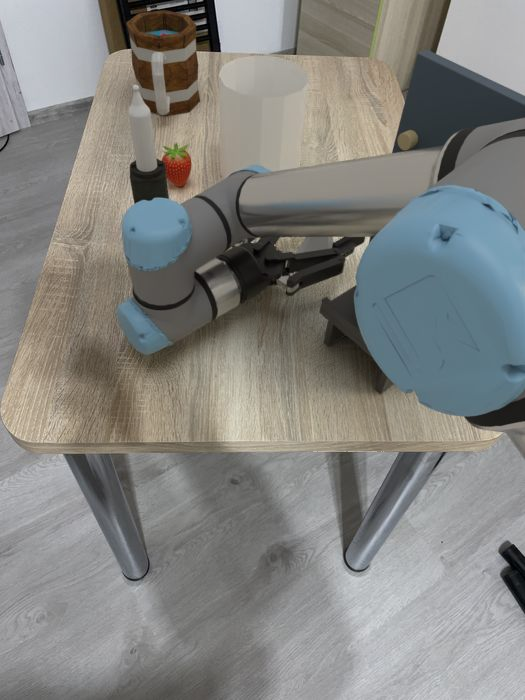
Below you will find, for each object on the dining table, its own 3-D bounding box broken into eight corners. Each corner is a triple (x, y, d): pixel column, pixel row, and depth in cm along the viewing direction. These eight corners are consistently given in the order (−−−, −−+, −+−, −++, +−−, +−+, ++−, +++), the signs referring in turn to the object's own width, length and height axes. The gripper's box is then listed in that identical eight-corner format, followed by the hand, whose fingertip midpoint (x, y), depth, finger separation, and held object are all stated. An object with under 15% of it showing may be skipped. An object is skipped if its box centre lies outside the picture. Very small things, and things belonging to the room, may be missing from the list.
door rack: (387, 413, 69) (493, 163, 41) (303, 337, 76) (344, 80, 48) (452, 362, 75) (585, 111, 46) (368, 295, 82) (439, 44, 54)
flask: (289, 271, 85) (295, 219, 77) (298, 241, 89) (305, 190, 81) (335, 280, 84) (345, 229, 76) (341, 250, 88) (352, 199, 80)
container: (297, 154, 105) (308, 58, 91) (298, 199, 96) (310, 100, 82) (223, 150, 105) (222, 53, 91) (217, 195, 96) (215, 95, 82)
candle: (173, 248, 87) (156, 94, 67) (141, 249, 86) (114, 95, 67) (172, 227, 90) (155, 75, 70) (141, 229, 89) (115, 75, 70)
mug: (140, 84, 120) (130, 8, 108) (201, 85, 120) (198, 11, 109) (129, 131, 108) (117, 52, 96) (197, 132, 108) (193, 54, 97)
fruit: (181, 197, 95) (177, 156, 89) (158, 187, 97) (152, 146, 90) (199, 182, 98) (196, 141, 92) (176, 172, 100) (172, 132, 93)
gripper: (184, 259, 82) (295, 205, 91) (274, 345, 72) (388, 274, 82) (181, 220, 76) (299, 166, 86) (278, 307, 66) (400, 235, 76)
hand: (342, 219), depth 84 cm, fingers open, 8 cm apart
